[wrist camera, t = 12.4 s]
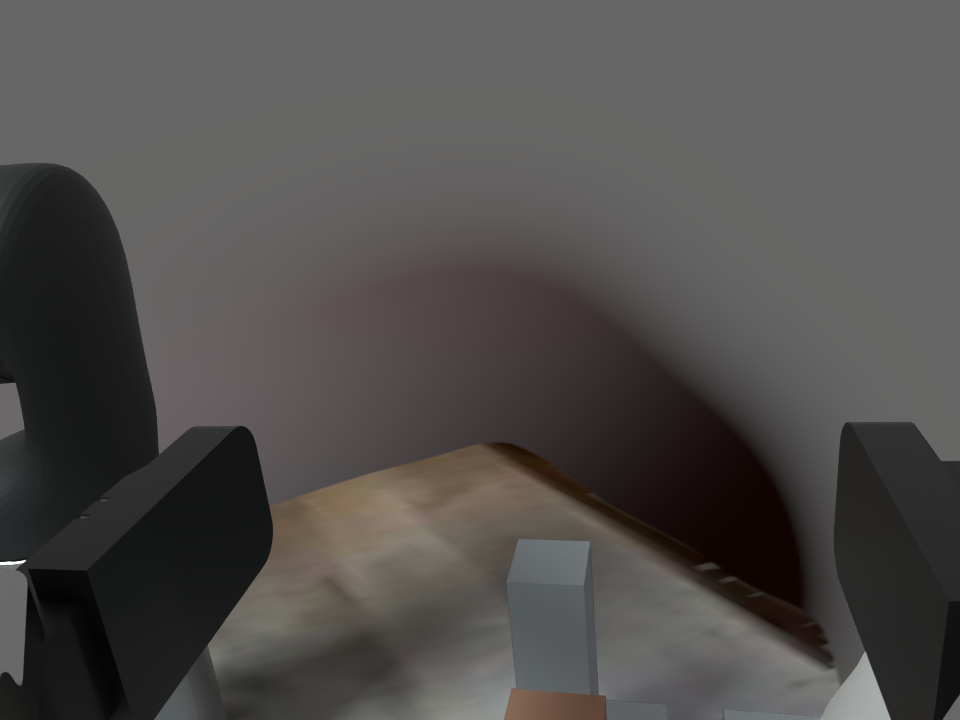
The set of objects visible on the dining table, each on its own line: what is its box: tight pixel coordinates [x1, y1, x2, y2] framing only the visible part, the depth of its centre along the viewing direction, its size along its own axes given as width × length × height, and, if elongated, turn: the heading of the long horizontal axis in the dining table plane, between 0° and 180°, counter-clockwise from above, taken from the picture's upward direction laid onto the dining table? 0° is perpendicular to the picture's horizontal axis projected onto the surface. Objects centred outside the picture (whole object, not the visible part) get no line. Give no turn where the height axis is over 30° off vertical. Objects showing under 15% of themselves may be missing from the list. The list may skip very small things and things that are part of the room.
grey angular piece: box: [506, 539, 821, 720], centre depth 38 cm, size 18×8×13 cm, turn 78°
